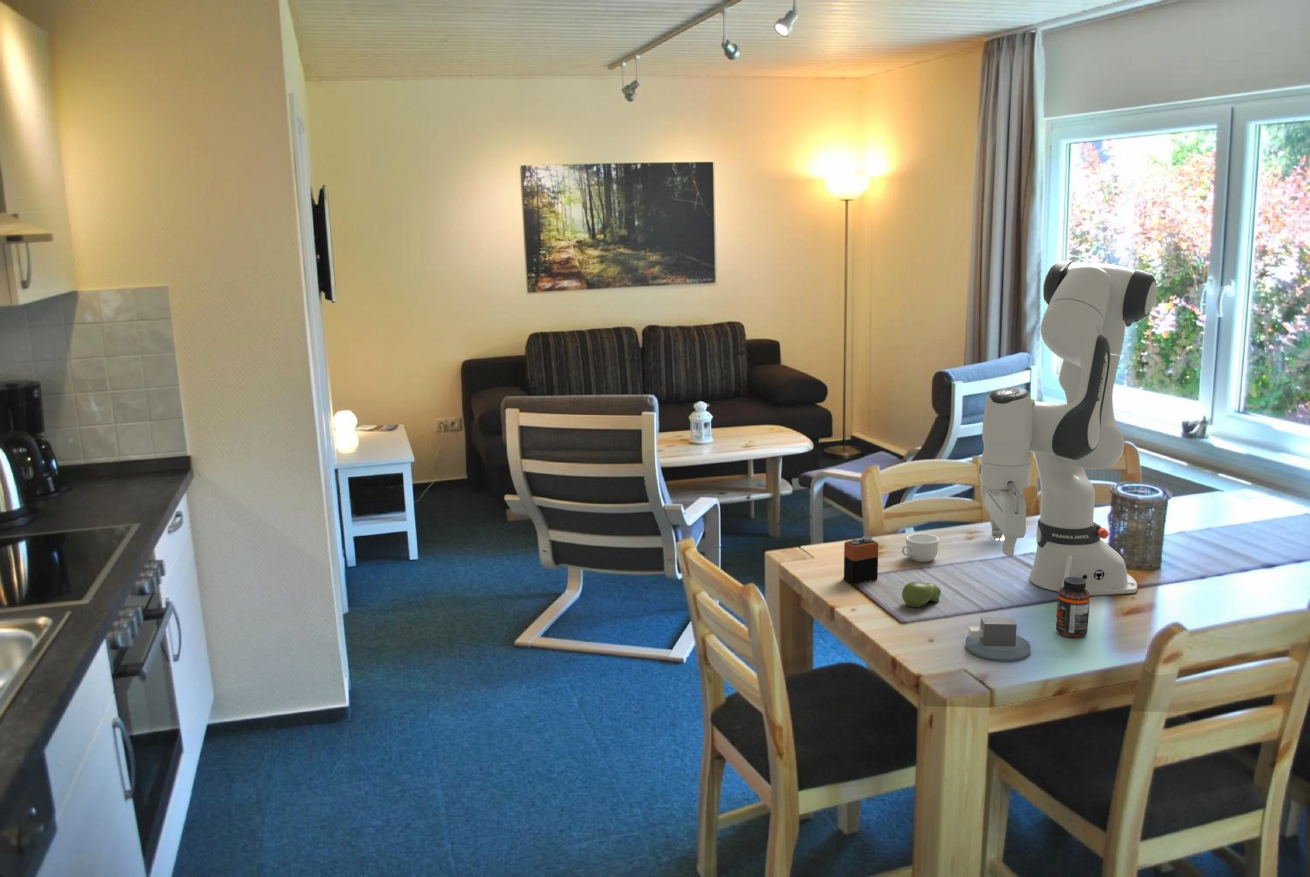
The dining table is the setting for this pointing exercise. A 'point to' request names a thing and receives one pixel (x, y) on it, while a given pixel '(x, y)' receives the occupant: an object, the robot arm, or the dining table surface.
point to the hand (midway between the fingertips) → (1002, 545)
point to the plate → (999, 650)
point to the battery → (861, 560)
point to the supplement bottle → (1073, 608)
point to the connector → (996, 631)
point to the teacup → (921, 547)
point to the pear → (920, 593)
